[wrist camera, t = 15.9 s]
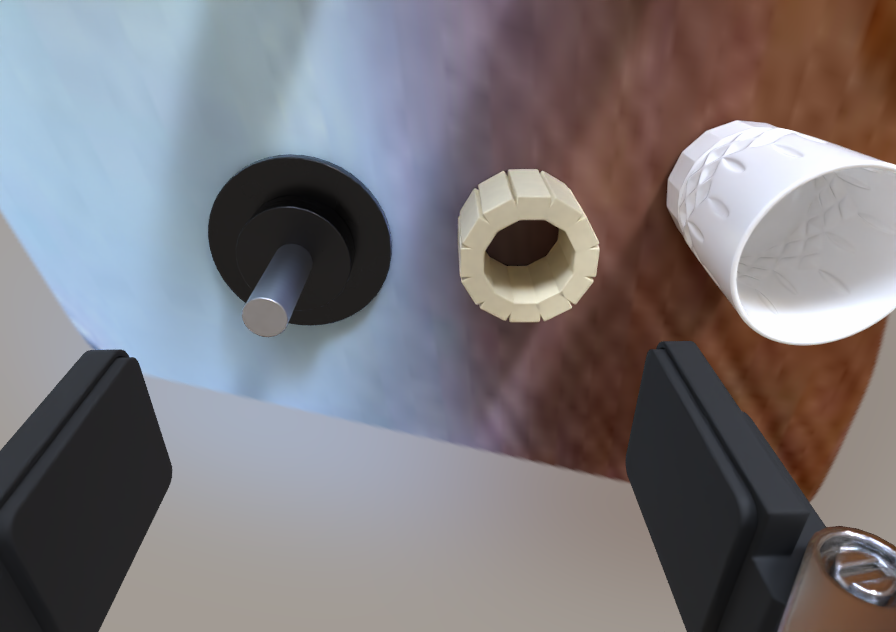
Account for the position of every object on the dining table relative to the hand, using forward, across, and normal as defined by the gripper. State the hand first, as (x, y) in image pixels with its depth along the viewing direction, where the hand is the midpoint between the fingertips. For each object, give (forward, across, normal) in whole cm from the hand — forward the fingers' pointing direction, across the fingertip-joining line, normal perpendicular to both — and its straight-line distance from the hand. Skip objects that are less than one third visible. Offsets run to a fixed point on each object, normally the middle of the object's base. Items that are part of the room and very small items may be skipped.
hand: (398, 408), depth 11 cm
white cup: (+22, -17, +3) cm, 28 cm away
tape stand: (+22, +7, +7) cm, 24 cm away
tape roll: (+22, -6, +6) cm, 24 cm away
